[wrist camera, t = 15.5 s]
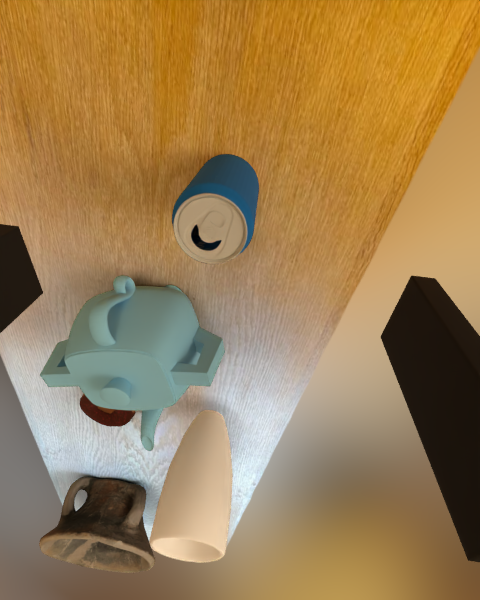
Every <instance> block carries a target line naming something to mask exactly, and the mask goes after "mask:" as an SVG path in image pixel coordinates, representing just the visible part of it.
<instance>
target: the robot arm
mask: <svg viewBox="0 0 480 600" xmlns="http://www.w3.org/2000/svg"><path fill="white" fill-rule="evenodd" d="M41 294H43V291H42V288H41V285H40V283H39V280H38V277H37V275H36V272H35V269H34V267H33V264H32V261H31V259H30V256H29V253H28V251H27V248H26V245H25V243H24V240H23V237H22V234H21V232H20V229H19V226H11V225H3V224H0V333H1V332H2V331H3V330H4V329H5V328H6V327H7V326H8V325H9V324H10V323H12V322H13V321H14V320H15V319H16V318H17V317H18V316H19V315H20V314H21V313H22V312H23V311H24V310H25V309H27V308H28V307H29V306H30V305H31V304H32V303H33V302H34V301H35V300H36V299H37V298H38V297H39V296H40V295H41ZM381 339H382V342H383V344H384V347H385V350H386V352H387V355H388V356H389V360H390V362H391V365H392V367H393V370H394V372H395V375H396V377H397V380H398V383H399V385H400V388H401V390H402V393H403V395H404V398H405V401H406V403H407V405H408V408H409V411H410V413H411V416H412V418H413V421H414V423H415V426H416V428H417V431H418V433H419V436H420V438H421V441H422V444H423V446H424V449H425V451H426V454H427V457H428V459H429V461H430V464H431V467H432V469H433V472H434V474H435V477H436V479H437V482H438V485H439V487H440V490H441V492H442V495H443V497H444V500H445V502H446V505H447V508H448V510H449V513H450V515H451V518H452V520H453V523H454V525H455V528H456V530H457V533H458V536H459V538H460V541H461V543H462V546H463V548H464V551H465V554H466V556H467V559H468V560H470V561H475V562H480V336H479V335H478V333H477V332H476V331H475V330H474V328H473V327H472V326H471V324H470V323H469V322H468V320H466V318H465V317H464V315H463V314H462V313H461V311H460V310H459V309H458V307H457V306H456V305H455V304H454V302H453V301H452V300H451V298H450V297H449V296H448V295H447V293H446V292H445V291H444V289H443V288H442V287H441V286H440V284H439V283H438V282H437V280H436V279H434V278H427V277H419V276H411V277H410V280H409V281H408V283H407V285H406V288H405V290H404V291H403V293H402V295H401V298H400V299H399V302H398V303H397V305H396V307H395V309H394V311H393V313H392V315H391V317H390V319H389V321H388V323H387V325H386V327H385V329H384V331H383V333H382V335H381Z"/></svg>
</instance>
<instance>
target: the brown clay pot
mask: <svg viewBox="0 0 480 600" xmlns="http://www.w3.org/2000/svg"><path fill="white" fill-rule="evenodd" d="M81 489H82V490H85V491H86V492H87V499H86V501H85V503H84V504H83V505H82V507H81V508H80V509H78V510H77V511H75V508H74V500H75V496H76V494H77V492H78V491H79V490H81ZM145 501H146V490H145V489H144V487H142V486H141V485H137V484H130V483H128V482H125V481H119V480H114V479H97V478H94V477H82V478H79V479H78V480H76V481H75V482H73V483H72V485H71V486H70V488H69V490H68V492H67V495H66V497H65V500H64V504H63V508H62V513H61V518H60V521H59V524H58V526H57V527H56V528H54V529H53V530H51V531H50V532H49V533H47V534H46V535H44V536H43V537H42V538H41V540H40V543H39V546H40V548H41V551H42V552H43V553H44V554H45V555H47V556H50V557H53V558H56V559H59V560H62V561H67V562H70V563H74V564H77V565H80V566H84V567H91V568H94V569H100V570H107V571H114V572H126V573H128V572H129V573H131V572H141V571H146V570H149V569H150V568H151V567H152V566H153V565H154V564H155V558H154V555H153V552H152V549H151V546H150V543H149V540H148V537H147V534H146V531H145V528H144V523H143V516H142V515H143V512H144V508H145Z"/></svg>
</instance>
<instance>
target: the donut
mask: <svg viewBox="0 0 480 600" xmlns="http://www.w3.org/2000/svg"><path fill="white" fill-rule="evenodd" d="M80 407H81V409H82V410H83V412H84V413H85V414H86V415H87V416H89V417H90V418H91V419H93V420H95V421H96V422H98V423H100V424H103V425H106V426H119V427H120V426H123V425H125V424H127V423H128V422H129V421H130V420H131V419H132V417H133V416H134V415H135V411H136V410H117V409H109V408H103V407H99V406H97V405H95V404H93V403H92V402H91V401H90V400H89V399H88V398H87V397H86V395H85V394H83V396H82V397H81V399H80Z"/></svg>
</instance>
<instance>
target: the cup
mask: <svg viewBox="0 0 480 600" xmlns="http://www.w3.org/2000/svg"><path fill="white" fill-rule="evenodd" d="M232 477H233V475H232V463H231V451H230V443H229V437H228V432H227V427H226V424H225V421H224V418H223V416H222V415H221V414H220V413H218V412H216V411H213V410H205V411H202V412H200V413H199V414H198V415H197V416H196V418H195V419H194V420H193V422H192V423H191V425H190V426H189V428H188V430H187V431H186V433H185V435H184V436H183V438H182V441H181V443H180V445H179V447H178V449H177V451H176V453H175V456H174V458H173V460H172V462H171V464H170V466H169V470H168V473H167V476H166V479H165V482H164V486H163V489H162V492H161V495H160V499H159V503H158V507H157V511H156V515H155V520H154V524H153V528H152V532H151V537H150V541H149V543H150V546H151V547H152V548H153V550H155V551H156V552H158V553H160V554H162V555H165V556H167V557H170V558H173V559H178V560H183V561H190V562H212V561H216V560H219V559H221V558H222V557H223V556H224V554H225V550H226V542H227V534H228V527H229V519H230V511H231V495H232Z"/></svg>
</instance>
